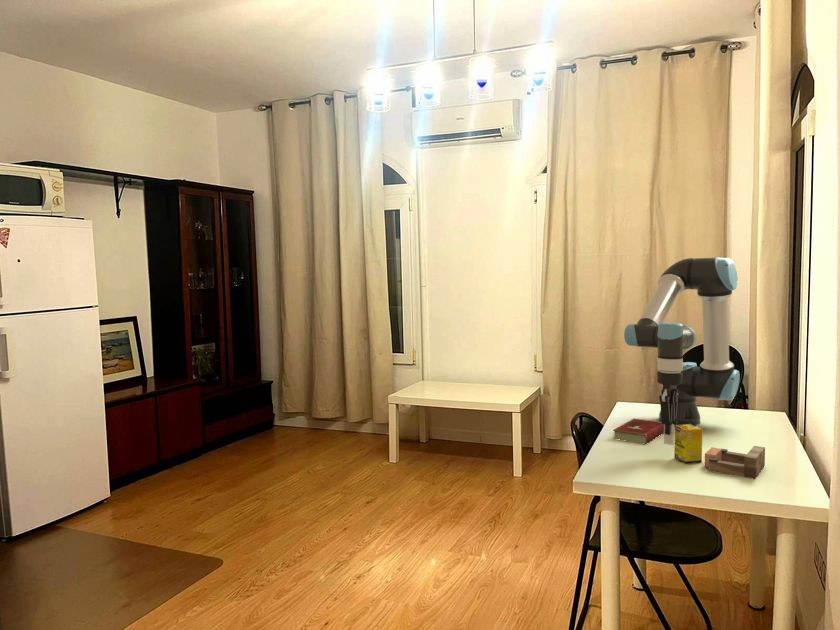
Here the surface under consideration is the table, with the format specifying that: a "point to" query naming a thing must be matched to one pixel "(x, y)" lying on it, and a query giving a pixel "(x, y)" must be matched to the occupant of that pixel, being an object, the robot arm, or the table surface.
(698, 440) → the supplement box
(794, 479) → the table surface
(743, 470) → the dock
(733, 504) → the table surface
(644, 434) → the hardcover book
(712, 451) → the block
